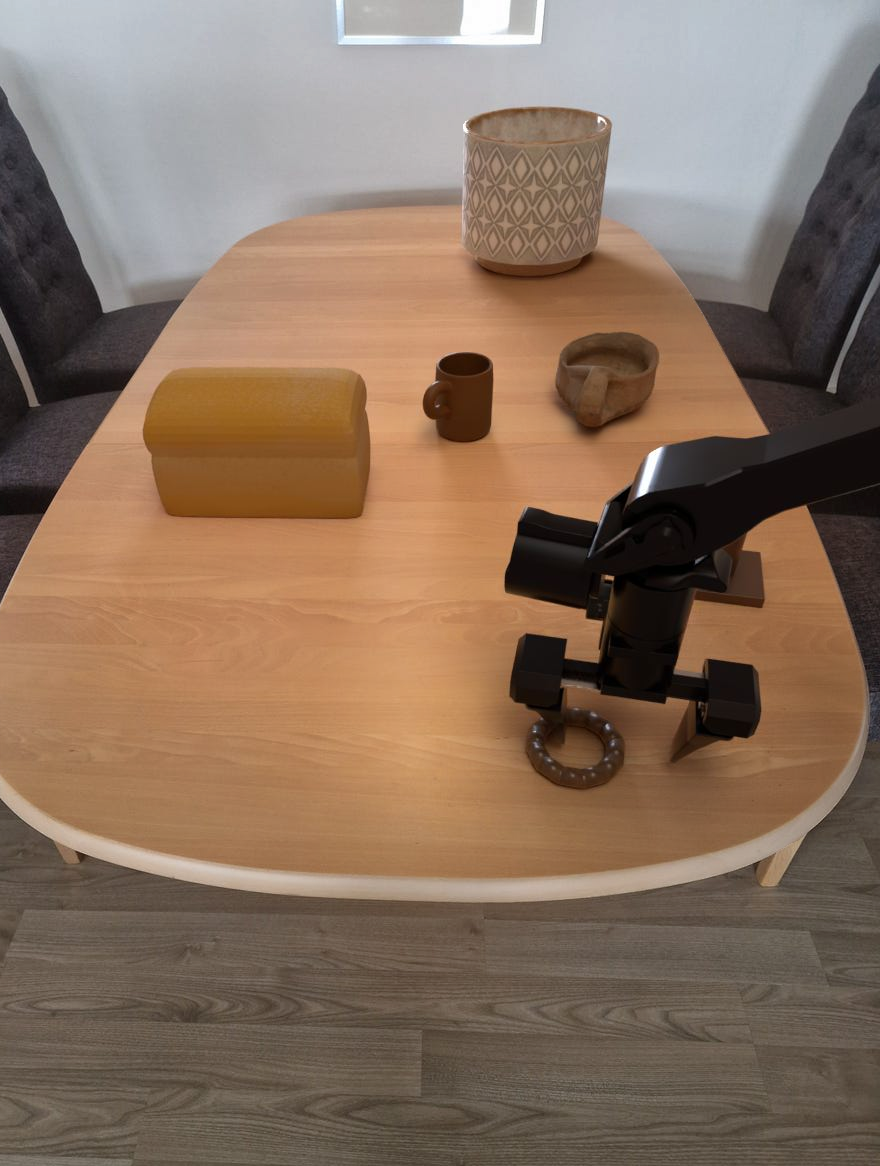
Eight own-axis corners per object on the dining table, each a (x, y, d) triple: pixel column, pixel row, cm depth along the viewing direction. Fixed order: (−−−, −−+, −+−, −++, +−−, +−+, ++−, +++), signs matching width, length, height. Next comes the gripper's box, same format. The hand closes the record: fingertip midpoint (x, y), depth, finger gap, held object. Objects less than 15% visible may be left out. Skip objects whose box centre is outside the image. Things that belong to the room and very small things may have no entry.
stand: (757, 560, 92) (775, 506, 87) (762, 608, 86) (781, 552, 81) (682, 551, 93) (695, 497, 88) (681, 597, 88) (696, 542, 83)
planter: (493, 291, 149) (499, 150, 133) (442, 245, 166) (442, 116, 151) (620, 269, 154) (640, 131, 139) (557, 227, 172) (569, 100, 156)
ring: (625, 724, 76) (628, 712, 74) (620, 799, 70) (623, 787, 69) (532, 709, 77) (534, 697, 76) (520, 781, 71) (521, 769, 70)
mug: (448, 464, 108) (449, 397, 101) (403, 445, 112) (401, 379, 105) (502, 426, 114) (505, 360, 108) (458, 409, 118) (458, 345, 112)
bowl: (671, 438, 108) (663, 367, 101) (563, 459, 112) (548, 393, 106) (660, 373, 120) (651, 306, 114) (562, 395, 125) (549, 332, 118)
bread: (372, 462, 109) (365, 352, 98) (362, 520, 100) (353, 405, 89) (189, 460, 111) (163, 352, 100) (162, 517, 101) (131, 404, 91)
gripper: (774, 563, 65) (726, 698, 76) (533, 535, 68) (521, 667, 79) (786, 662, 57) (731, 797, 68) (514, 625, 61) (503, 758, 72)
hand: (616, 749), depth 72 cm, fingers open, 9 cm apart
